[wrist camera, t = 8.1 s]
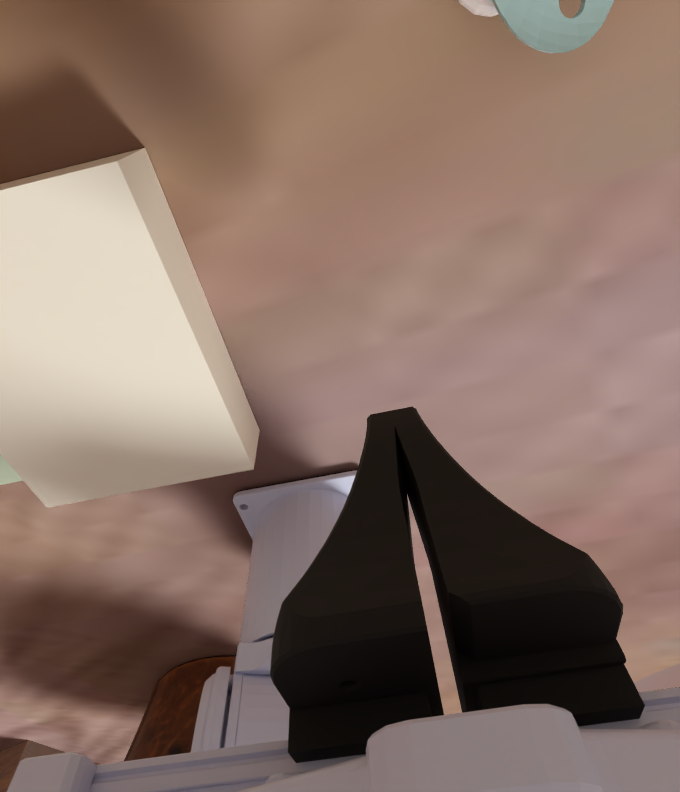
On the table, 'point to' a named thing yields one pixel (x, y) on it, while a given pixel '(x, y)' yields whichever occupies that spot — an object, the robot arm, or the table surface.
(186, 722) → the brown tapered round container
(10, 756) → the tissue box cover
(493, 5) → the pacifier
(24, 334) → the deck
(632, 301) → the table surface
